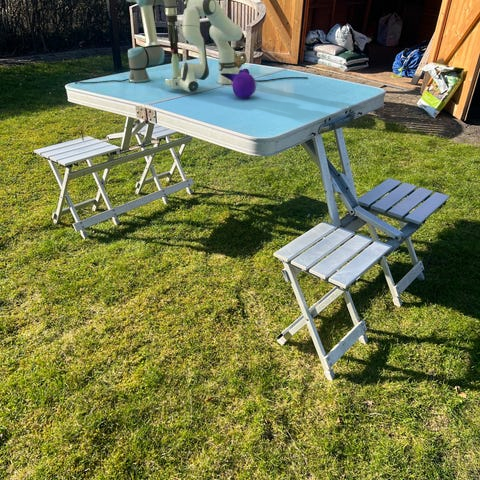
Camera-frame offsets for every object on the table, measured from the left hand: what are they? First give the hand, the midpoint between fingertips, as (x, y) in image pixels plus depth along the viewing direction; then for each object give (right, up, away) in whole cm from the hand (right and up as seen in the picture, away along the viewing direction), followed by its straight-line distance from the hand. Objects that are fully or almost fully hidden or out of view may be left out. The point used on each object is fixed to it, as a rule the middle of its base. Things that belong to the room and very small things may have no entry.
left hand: (174, 53), depth 302 cm
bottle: (0, -20, +12) cm, 23 cm away
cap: (0, +2, -1) cm, 2 cm away
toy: (+44, -33, -12) cm, 56 cm away
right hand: (0, -14, +9) cm, 17 cm away
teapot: (+40, +14, +69) cm, 81 cm away
